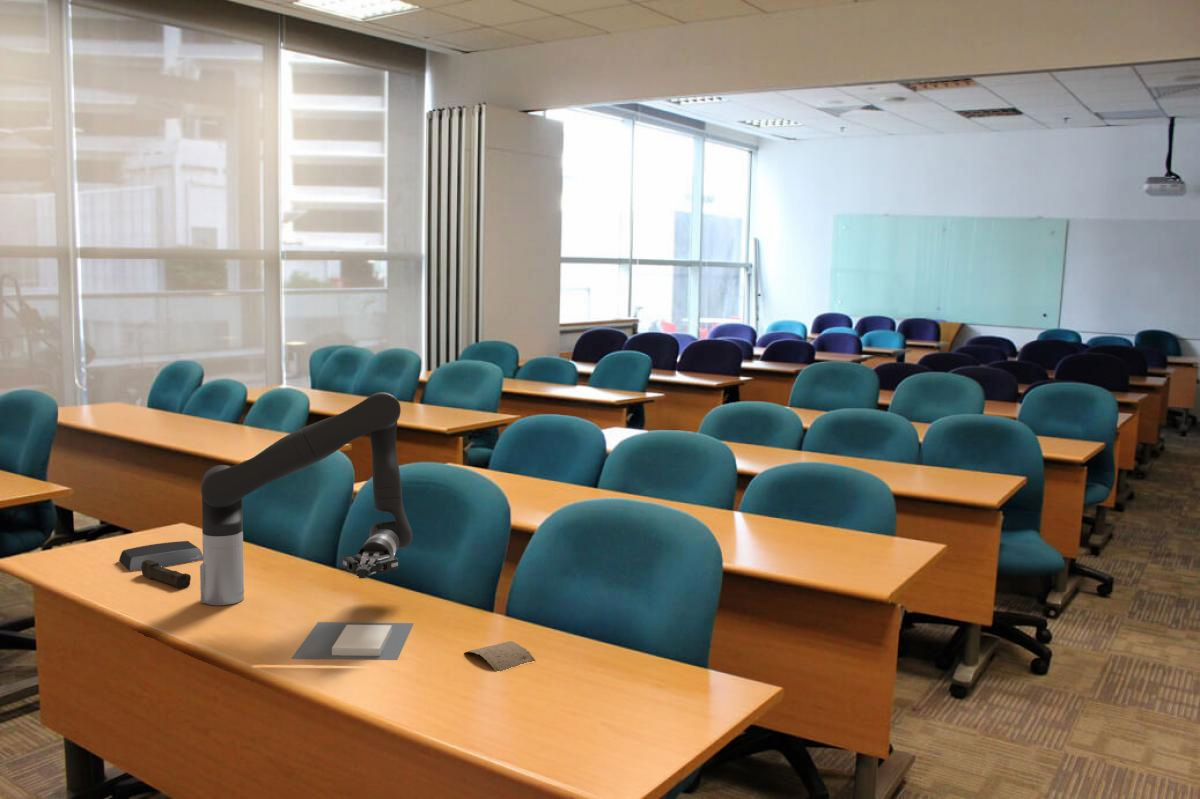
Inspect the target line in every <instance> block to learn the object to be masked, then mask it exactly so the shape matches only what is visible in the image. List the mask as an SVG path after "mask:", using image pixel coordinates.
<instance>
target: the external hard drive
mask: <svg viewBox="0 0 1200 799" xmlns="http://www.w3.org/2000/svg"><path fill="white" fill-rule="evenodd" d="M145 560H151V561H154V562H157V563H159V566H160V567H161V566H162V567H163V566H166V567H169V566H168V565H172V566H176V565H175V564H178V565H182V564H181V563H184V564H187V563H186V562H190V563H193V562H192V561H195V562H198V561H197V560H200V561H203V551H202V550H201V549H200V548H199V547H198V546H197V545H195V544H193V543H192V542H190V541H189V540H183V541H182V540H181V541H171V542H170V541H169V542H161V543H153V544H147V545H146V544H145V545H142V546H137V547H132V548H127V549H124V550H122V551H121V553H120V557H119V558H118V562H119V561H120V562H121V563H122V564H123V565H124V566H123V565H122V564H121V563H120V562H119V563H120V564H121V565H122V566H123V567H124V568H126V569H127V571H129V572H135V571H134V570H138V571H142V569H141V566H142V562H143V561H145ZM163 568H164V567H163Z"/></svg>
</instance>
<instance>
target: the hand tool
mask: <svg viewBox="0 0 1200 799" xmlns="http://www.w3.org/2000/svg"><path fill="white" fill-rule="evenodd" d="M141 569H142V570H141V575H142V576H143V577H144V578H146V579H148V580H158V581H161V582H163V583H165V584H169V585H171V586H174V587H175V588H176V589H177V590H183V589H187V588H188V587H189V586H190V585H191V580H192V579H191V578H192V576H191V575H190V574H189V573H181V572H179V571H177V570H172V569H170V568H169V569H168V568H166V567H160V566H159V563H157V562H154V561H151V560H145V561H143V562H142V566H141Z"/></svg>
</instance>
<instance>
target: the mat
mask: <svg viewBox="0 0 1200 799" xmlns="http://www.w3.org/2000/svg"><path fill="white" fill-rule="evenodd" d="M346 625H392V633H391V635H390V637H389V639H388V641H387V643H386V645H385V646H384V648H383V650H382V652H381V654H380V656H345V655H332V647H333V646H334V644H335V642H336V641H337V639H338V638H339V636H340V635H341V633H342V632H343V630H344V629H345V627H346ZM413 626H414V623H413V622H361V621H360V622H357V621H356V622H352V621H349V622H348V621H343V622H342V621H338V622H337V621H318V622H316V624H315V626H314V627H313V628H312V630H311V631H310V632H309V634H307V636H306V637H305V639H304V640H303V641H302V643H301V644H300V646H299V647H298V648H297V650H296V651H295V653H293V655H292V656H291V658H290V659H291V660H354V661H355V660H357V661H358V660H363V661H364V660H365V661H367V660H372V661H376V660H377V661H378V660H380V661H398V659H399V657H400V655H401V653H402V650H403V648H404V646H405V643H406V641H407V640H408V637H409V636H410V633H411V630H412V628H413Z"/></svg>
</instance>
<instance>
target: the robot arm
mask: <svg viewBox="0 0 1200 799" xmlns="http://www.w3.org/2000/svg"><path fill="white" fill-rule="evenodd" d="M401 411H402V410H401V404H400V401H399V400H398V399H397V397H396V396H395V395H393V394H391V393H389V392H381V391H380V392H376V393H373V394H371V395H370V396H368V397H367V398H366V399H363V400H362V401H360V402H359V403H357V404H356V405H354V406H351V407H350V408H348V409H347V410H345V411H343V412H340V413H339V414H336V415H334V416H329V417H327V418H324V419H322V420H319V421H317V422H313V423H312V424H309V425H307V426H304V427H301V428H300V429H297V430H295V431H293V432H291V433H288V434H287V435H285V436H284V437H281V438H280V439H278V440H277V441H275V442H274V443H272V444H271V445H269V446H268V447H266V448H265V449H264V450H262V451H261V452H259V453H258V454H256V455H255V456H253V457H251V458H249V459H247V460H245V461H243V462H240V463H237V464H236V465H232V466H230V465H225V464H221V465H220V464H218V465H215V466H212V467H211V468H210V469H208V470H207V471H206V472H205V473H204V474H203V477H202V480H201V484H200V493H201V508H202V511H201V512H202V513H201V529H202V530H201V532H202V533H201V534H202V555H203V560H202V563H201V564H200V565H199V577H200V578H199V581H200V585H199V586H200V587H199V588H200V604H205V605H206V604H207V605H209V606H210V605H211V606H228V605H234V604H238V603H240V602H242V601H243V600H245V586H244V585H245V583H244V582H245V581H244V579H245V578H244V575H245V572H244V569H245V568H244V532H243V531H244V530H243V529H244V528H243V527H244V524H243V523H244V522H243V521H244V516H243V498H245V497H247V496H248V495H250V494H251V493H254V492H255V491H257V490H258V489H260V488H261V487H263V486H264V487H265V485H268V484H270V483H272V482H275V481H277V480H280V479H282V478H285V477H287V476H290V475H292V474H295V473H296V472H299V471H302V470H304V469H306V468H308V467H310V466H312V465H314V464H316V463H318V462H320V461H322V460H324V459H326V458H328V457H329V456H331V455H333V454H334V453H336V452H337V451H339V450H340V449H342V448H343V447H345V446H346V445H347V444H349V443H350V442H352V441H353V440H356V439H358V438H360V437H364V436H365V435H369V439H370V440H369V441H370V446H371V447H370V448H371V459H372V460H371V461H372V462H371V463H372V464H371V465H372V492H373V504H374V509H375V511H377V512H380V513H386V514H391V515H392V516H393V517H394V519H395V520H392V521H389V520H388V521H379V522H375V523H373V524H372V525H371V526H370V528H369V535H368V536H369V538H368V539H367V540H366V541H365V543H363V544H362V546H361V547H360V548H359V550H358V553H357V554H355V555H353V557H352V556H348V555H344V556H342V568H343V569H345V570H347V571H349V572H350V573H352V574H356V577H358V579H367V578H368V577H370V576H371V575H373V574H377V575H382V574H385V573H389V572H392V571H396V570H398V568H399V557H398V558H397V557H395V555H396V553H397V551H398V550H399V549H405V548H407V547H409V546H410V545H411V543H412V540H413V531H412V528H411V525H410V522H409V520H408V517H407V514H406V511H405V507H404V502H403V491H402V480H401V471H400V467H399V466H400V465H399V460H398V454H397V453H398V452H397V431H398V430H397V429H398V421H399V419H400V416H401V413H402V412H401Z"/></svg>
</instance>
